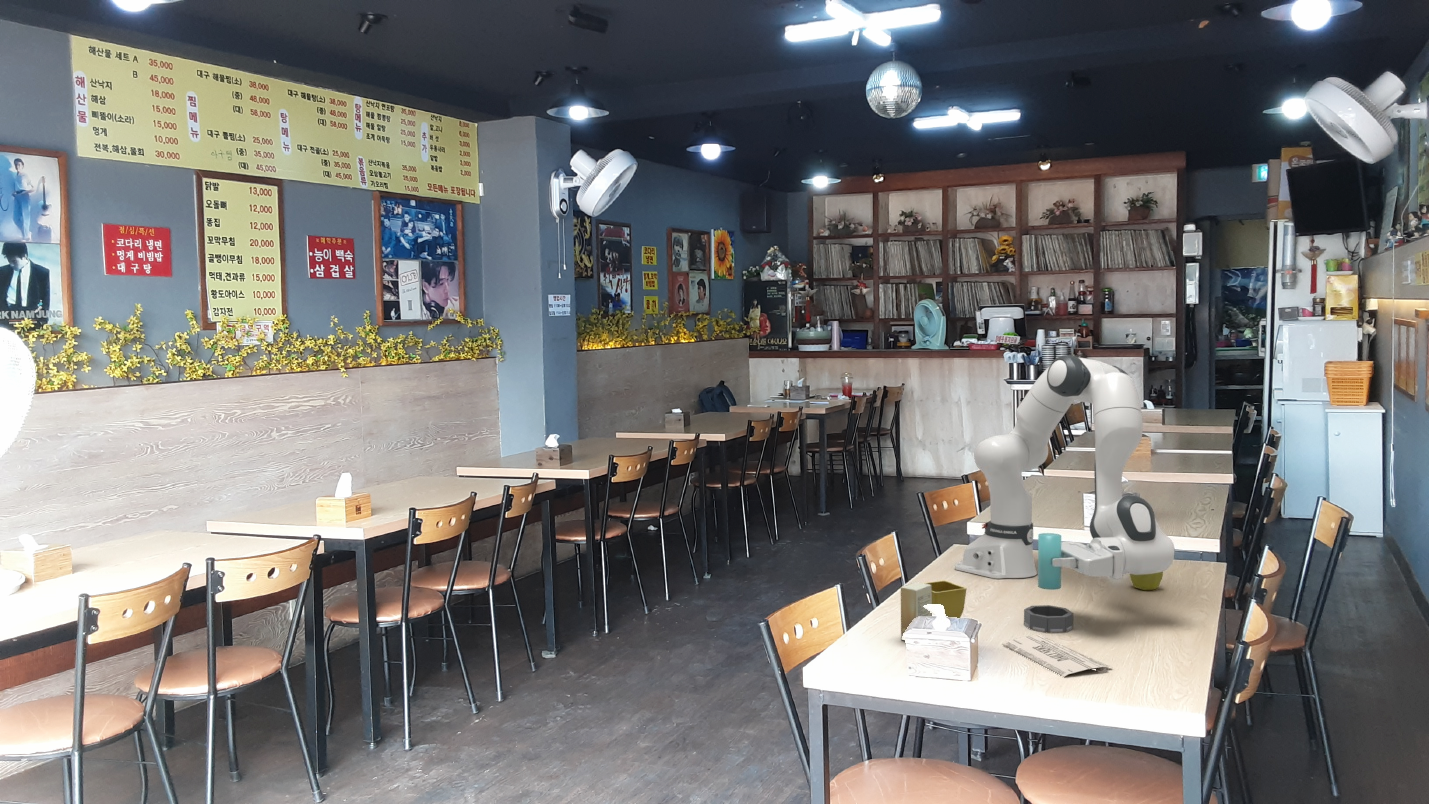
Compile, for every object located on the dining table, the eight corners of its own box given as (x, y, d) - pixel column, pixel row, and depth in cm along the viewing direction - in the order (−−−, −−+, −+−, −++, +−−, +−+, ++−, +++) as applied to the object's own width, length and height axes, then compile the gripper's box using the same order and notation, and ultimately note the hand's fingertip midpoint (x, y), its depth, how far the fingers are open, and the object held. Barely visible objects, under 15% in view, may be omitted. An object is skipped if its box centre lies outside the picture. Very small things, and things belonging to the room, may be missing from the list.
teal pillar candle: (1034, 587, 239) (1034, 535, 238) (1043, 583, 242) (1044, 532, 241) (1055, 590, 235) (1055, 538, 234) (1064, 586, 239) (1065, 534, 238)
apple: (1128, 578, 278) (1141, 545, 275) (1159, 591, 274) (1171, 557, 271) (1121, 585, 271) (1133, 550, 269) (1151, 598, 267) (1164, 563, 265)
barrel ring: (1016, 627, 239) (1017, 612, 239) (1036, 617, 247) (1036, 602, 247) (1060, 635, 232) (1060, 620, 232) (1079, 625, 240) (1079, 610, 240)
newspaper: (1116, 674, 209) (1115, 662, 208) (1064, 687, 205) (1063, 674, 205) (1048, 640, 230) (1047, 629, 230) (1000, 651, 227) (999, 640, 227)
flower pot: (913, 621, 245) (913, 583, 244) (944, 616, 248) (944, 579, 248) (935, 631, 237) (935, 592, 236) (967, 626, 240) (967, 588, 240)
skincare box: (916, 634, 235) (916, 580, 234) (932, 638, 232) (932, 584, 231) (899, 640, 230) (899, 586, 229) (915, 644, 227) (916, 589, 226)
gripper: (1083, 534, 250) (1027, 536, 248) (1125, 552, 229) (1065, 554, 228) (1082, 560, 250) (1027, 562, 249) (1125, 580, 230) (1065, 583, 228)
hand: (1045, 559), depth 238 cm, fingers closed on teal pillar candle, 5 cm apart
